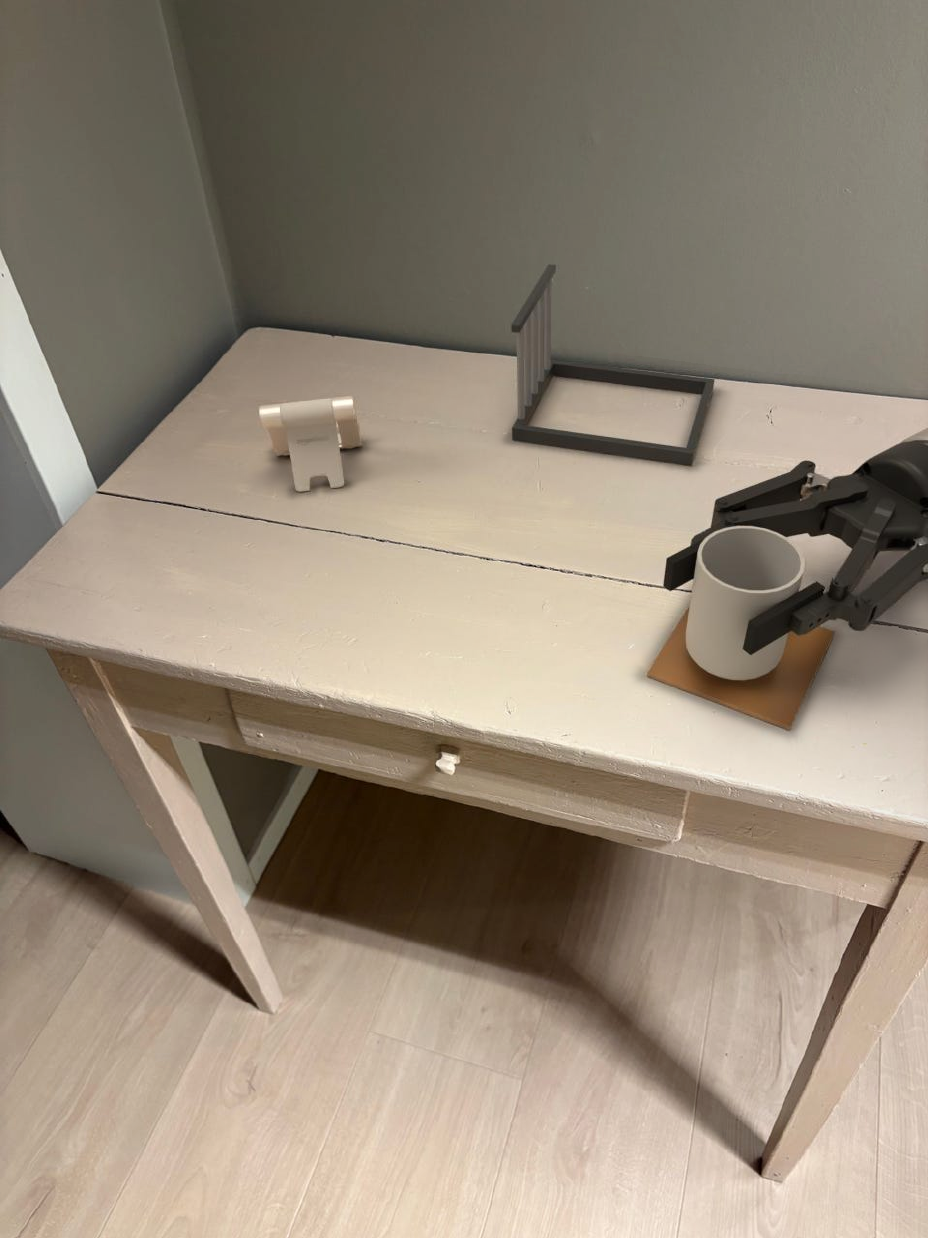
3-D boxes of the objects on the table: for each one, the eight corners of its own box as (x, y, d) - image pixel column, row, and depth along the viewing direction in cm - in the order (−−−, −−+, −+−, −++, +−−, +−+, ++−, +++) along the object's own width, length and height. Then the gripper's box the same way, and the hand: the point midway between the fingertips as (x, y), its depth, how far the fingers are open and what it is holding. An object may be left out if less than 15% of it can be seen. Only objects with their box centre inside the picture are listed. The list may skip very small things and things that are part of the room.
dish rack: (712, 391, 101) (729, 278, 93) (691, 466, 92) (707, 348, 83) (548, 371, 106) (549, 261, 98) (512, 440, 97) (509, 326, 88)
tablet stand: (361, 439, 98) (350, 366, 92) (365, 484, 93) (353, 409, 87) (277, 449, 98) (261, 376, 92) (275, 495, 92) (258, 420, 86)
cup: (671, 664, 72) (683, 575, 66) (712, 583, 78) (726, 494, 72) (767, 695, 69) (789, 605, 63) (802, 608, 75) (825, 518, 69)
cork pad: (833, 634, 75) (835, 631, 75) (789, 730, 69) (790, 727, 68) (700, 590, 80) (700, 586, 79) (646, 676, 73) (647, 672, 73)
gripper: (1023, 589, 72) (808, 731, 63) (813, 464, 84) (610, 569, 76) (1061, 509, 66) (833, 652, 58) (831, 388, 79) (616, 492, 70)
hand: (707, 605), depth 67 cm, fingers closed on cup, 7 cm apart
